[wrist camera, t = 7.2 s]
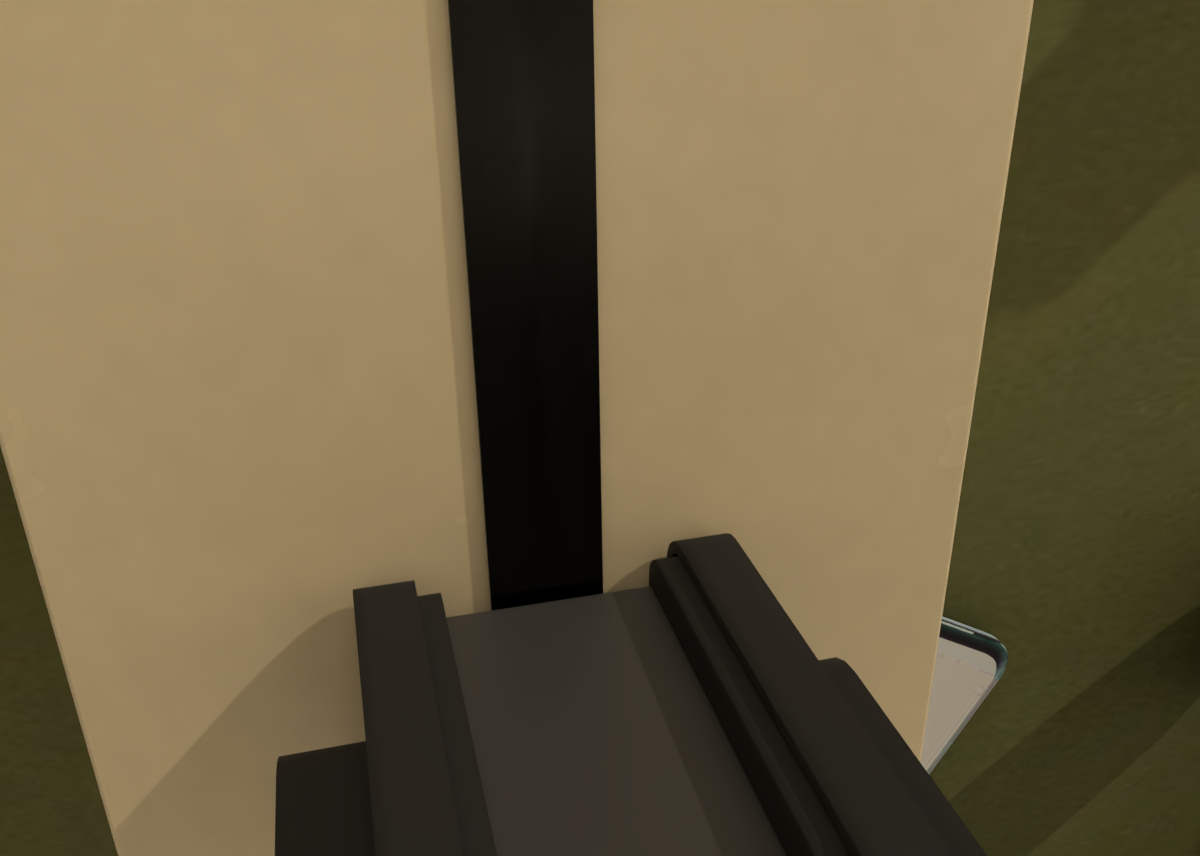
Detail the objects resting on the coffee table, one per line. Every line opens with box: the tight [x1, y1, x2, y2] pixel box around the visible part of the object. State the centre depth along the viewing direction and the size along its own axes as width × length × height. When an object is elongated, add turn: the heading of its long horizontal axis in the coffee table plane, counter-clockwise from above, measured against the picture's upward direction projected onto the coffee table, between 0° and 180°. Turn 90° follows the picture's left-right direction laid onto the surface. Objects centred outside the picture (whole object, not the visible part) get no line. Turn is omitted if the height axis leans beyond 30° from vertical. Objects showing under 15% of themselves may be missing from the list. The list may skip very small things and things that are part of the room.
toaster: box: [0, 0, 1034, 856], centre depth 12 cm, size 13×8×8 cm, turn 1°
